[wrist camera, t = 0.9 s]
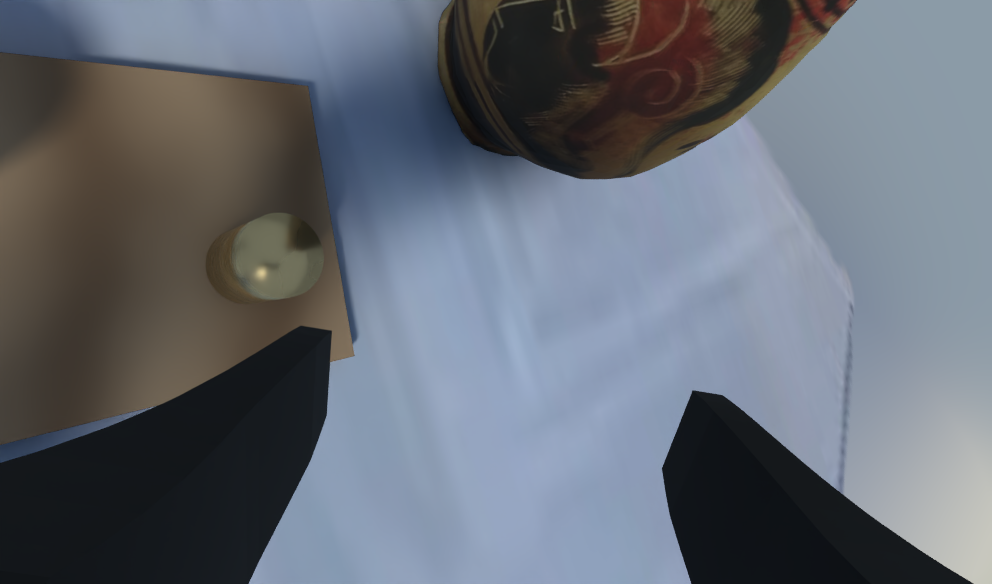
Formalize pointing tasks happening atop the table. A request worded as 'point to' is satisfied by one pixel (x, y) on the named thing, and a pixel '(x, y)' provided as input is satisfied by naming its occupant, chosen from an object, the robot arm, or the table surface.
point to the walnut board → (142, 233)
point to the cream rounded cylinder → (265, 259)
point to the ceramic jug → (617, 74)
